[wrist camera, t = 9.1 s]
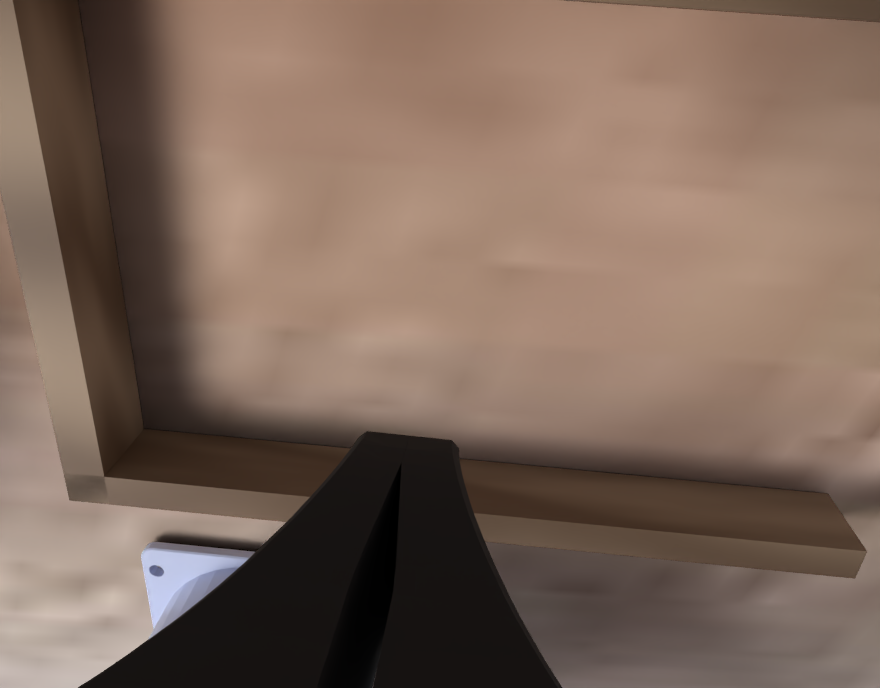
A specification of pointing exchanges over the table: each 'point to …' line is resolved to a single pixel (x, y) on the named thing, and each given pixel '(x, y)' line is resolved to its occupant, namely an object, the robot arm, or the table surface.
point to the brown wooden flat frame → (292, 464)
